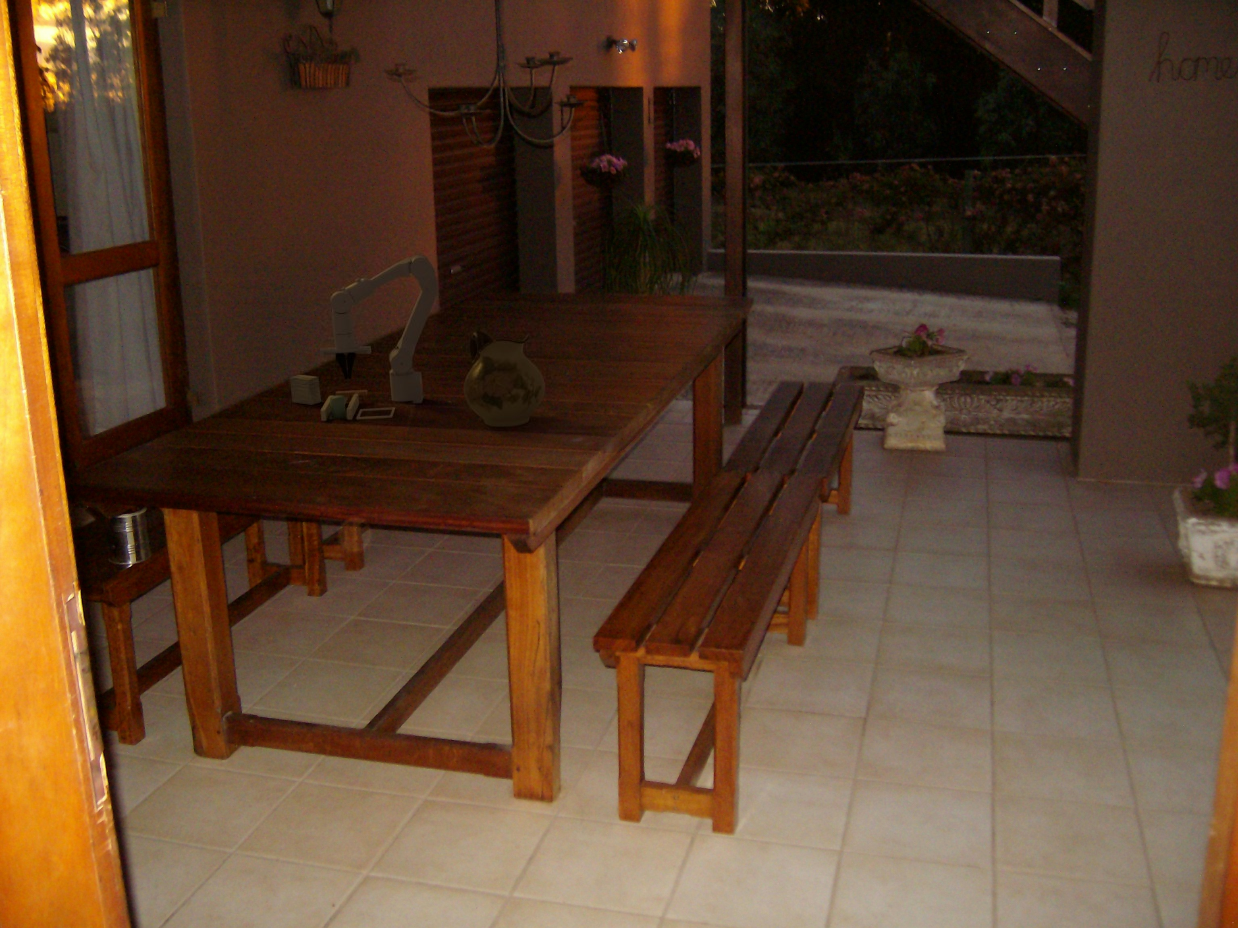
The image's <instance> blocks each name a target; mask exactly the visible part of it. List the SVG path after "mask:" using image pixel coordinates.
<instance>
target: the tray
mask: <svg viewBox="0 0 1238 928" xmlns="http://www.w3.org/2000/svg"><path fill="white" fill-rule="evenodd" d="M389 410H390V411H391V412H390V414H389V415H378V416H377V415H374V416H373V415H372V416H361V415H362V413H363V412H374V411H389ZM395 411H396V406H394V407H378V408H361V409H359V411H358V413H357V415H356V417H355V419H356V420H370V419H372V420H373V419H375V420H376V419H391V418H393V416H394V414H395Z"/></svg>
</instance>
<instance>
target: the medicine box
mask: <svg viewBox="0 0 1238 928" xmlns="http://www.w3.org/2000/svg"><path fill="white" fill-rule="evenodd" d="M289 384H290V392H291V400H292V403H295V404H303V405H309V406H312V405H315V404H319V403H321V402H322V398H321V388H320V381H319V377H318V376H314V375H306V374H297V375H294V376H292V377H289Z"/></svg>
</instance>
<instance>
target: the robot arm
mask: <svg viewBox="0 0 1238 928" xmlns="http://www.w3.org/2000/svg"><path fill="white" fill-rule="evenodd" d="M411 275H412V276H413V278H414V279H416V280H417V282H418V286H419V288H420V292H419V294H418V297H417V300H416V301H415V305H414V307H413V309H412V311H411V313H410V316H409V318H408V321H407V323H406V325H405V328H404V330H403V333H402V336H401V338H400V339H399V340H398V342H397V345H396V346H395V348H394V349H392V350H391V351H390V352H389V355H388V360H389V361H388V362H390V367H391V369H390V370H389V373H388V374H389V383H390V385H389V386H390V394H391V401H392V402H393V401H394V402H409V401H412V404H422V402H423V400H424V390H423V379H422V372H421V371H415V370H414V368H413V356H414V354H415V349H416V347H417V343H418V341H419V339H420V336H421V334H422V331H423V329H424V328H425V325H426V322H427V320H428V317H429V315H430V313H431V310H432V308H433V305H434V303H435V301H436V299H437V296H438V294H439V285H438V279H437V274H436V270H435V267H434V266H433V264H432V262H431V261H430V260H429V259H428V257H427V256H425V255H424V254H422V253H416V254H413V255H412V256H411V257H407V258H404V259H402V260H400V261H398V262H396V263H394V264H393V265H391V266H389V267H388V268H387V269H385V270H383V271H382V272H379V273H378V274H377V275H375V276H373V277H371V278H368V277H367V278H366V277H363V278H360V277H358V278H356V279H355V282H353V283H351V284H350V285H347V286H346V287H345V286H343V287H341V290H337V291H335V292H334V293H333V294H332V295H331V297H330V301H329V303H330V306H331V308H332V309H331V310H332V311H331V315H332V318H331V319H332V320H331V321H332V330H333V339H334V347H322V348H320V349H319V355H320V357H324V356H335V357H334V358H335V360H336V363H338V365H339V367H340V369H341V371H342V374H343V377H344V380H352V377H353V375H352V374H353V367H354V364H355V360H356V357H357V355H360V354H361V355H362V354H363V355H364V354H367V355H369V354H370V355H371V353H372V347H371V345H356V344H355V342H356V341H355V334H354V331H355V330H354V324H353V323H354V321H353V320H354V319H353V316H352V312H351V311H352V310H351V309H352V306H357V305H359V304H360V303H362V302H364V301H366V300H368V299H369V298H371V297H373V296H374V295H375V293H376V289H378V288H380V287H383V286H384V285H387V284H388V283H390V282H392V281H395V280H396V279H398V278H402V277H404V278H411Z"/></svg>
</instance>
